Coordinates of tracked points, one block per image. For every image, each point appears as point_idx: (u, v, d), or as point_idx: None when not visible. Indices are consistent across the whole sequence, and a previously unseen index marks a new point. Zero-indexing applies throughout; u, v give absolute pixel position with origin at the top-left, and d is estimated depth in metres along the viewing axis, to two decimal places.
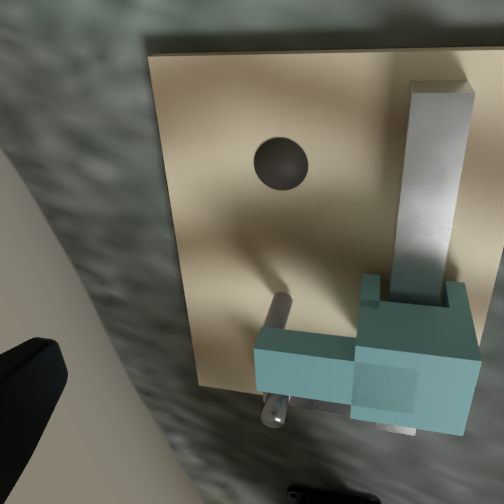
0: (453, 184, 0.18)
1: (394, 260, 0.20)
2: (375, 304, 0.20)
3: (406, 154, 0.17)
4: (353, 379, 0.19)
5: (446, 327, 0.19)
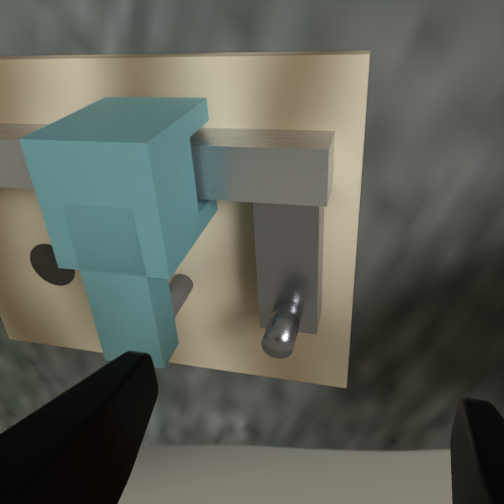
0: None
1: None
2: None
3: None
4: (105, 272, 0.16)
5: None
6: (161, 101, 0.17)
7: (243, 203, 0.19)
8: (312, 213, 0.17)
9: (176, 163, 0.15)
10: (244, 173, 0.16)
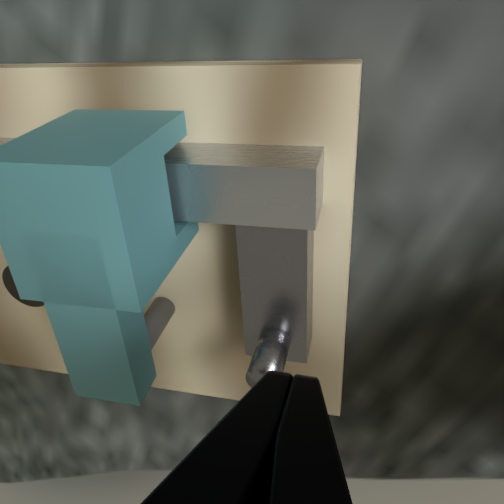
0: None
1: None
2: None
3: None
4: (71, 304, 0.14)
5: None
6: (134, 114, 0.15)
7: None
8: (300, 236, 0.16)
9: (147, 185, 0.13)
10: (225, 194, 0.15)
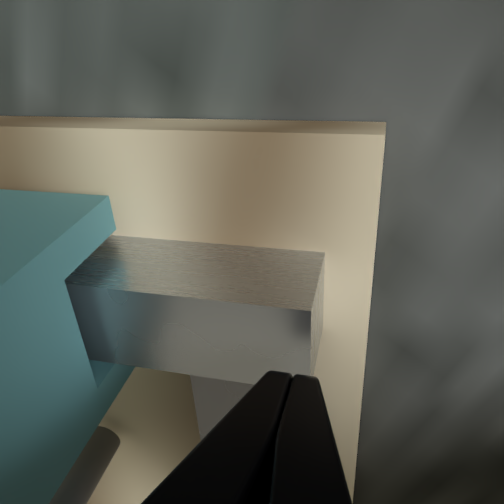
0: None
1: None
2: None
3: None
4: None
5: None
6: (31, 202, 0.10)
7: None
8: None
9: (25, 344, 0.08)
10: (167, 333, 0.09)
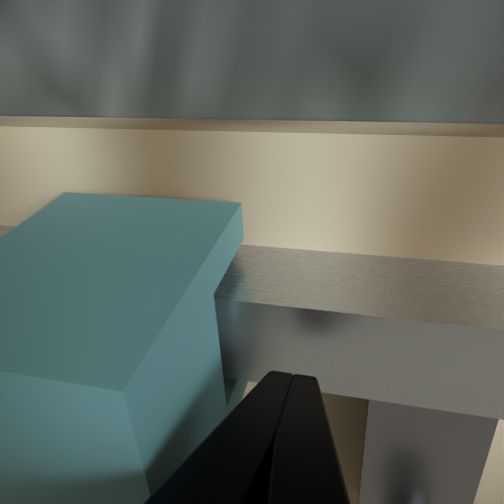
0: None
1: None
2: None
3: None
4: None
5: None
6: (160, 209, 0.09)
7: None
8: (485, 419, 0.09)
9: (189, 364, 0.07)
10: (366, 356, 0.09)
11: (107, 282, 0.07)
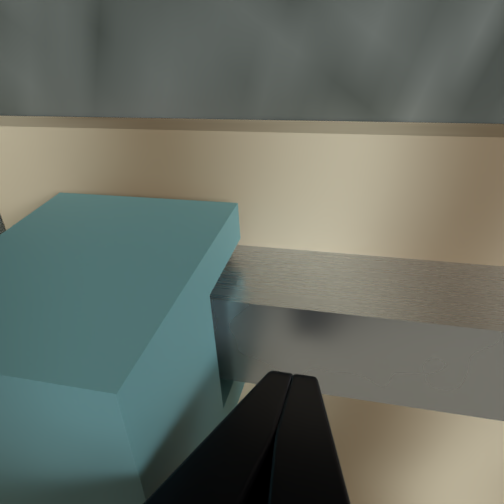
0: None
1: None
2: None
3: None
4: None
5: None
6: (156, 209, 0.09)
7: None
8: None
9: (185, 366, 0.07)
10: None
11: (102, 283, 0.07)
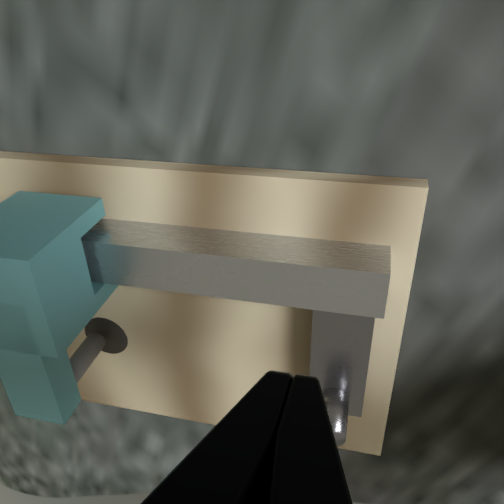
0: None
1: (129, 285, 0.20)
2: None
3: None
4: (7, 349, 0.19)
5: None
6: (63, 200, 0.20)
7: None
8: (368, 320, 0.19)
9: (64, 264, 0.18)
10: (309, 286, 0.18)
11: (30, 229, 0.18)
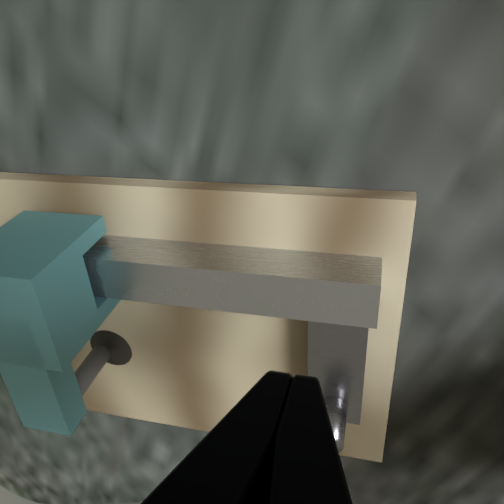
0: None
1: (131, 299, 0.21)
2: None
3: None
4: (14, 364, 0.20)
5: None
6: (65, 219, 0.21)
7: None
8: (362, 330, 0.19)
9: (67, 281, 0.19)
10: (303, 298, 0.19)
11: (34, 248, 0.19)
